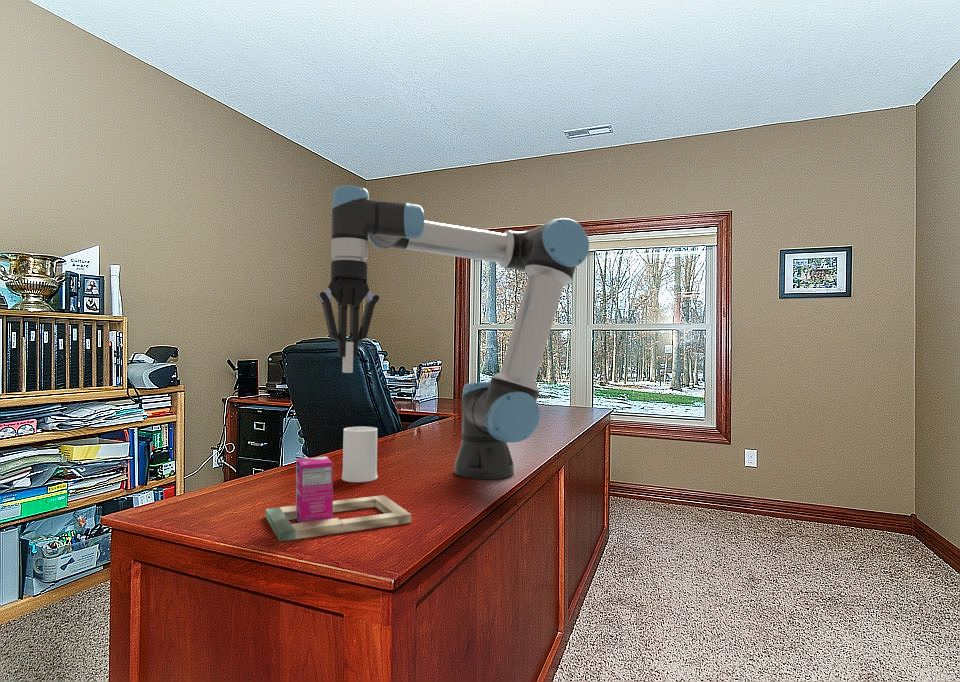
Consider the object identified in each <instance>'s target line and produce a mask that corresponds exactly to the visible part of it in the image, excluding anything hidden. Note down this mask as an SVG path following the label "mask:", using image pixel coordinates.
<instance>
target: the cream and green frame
mask: <svg viewBox="0 0 960 682" xmlns="http://www.w3.org/2000/svg"><path fill="white" fill-rule="evenodd" d="M372 508H376V509H378V510H379V511H380V512H382V513H379V514H372V515H365V516H358V517H357V516H356V517H350V518H342V519H339V517H333V519H325V520H317V521H310V522H302V523H298V522H297V523H295V522H294V523H291V522H290V521H292V520H296V504H294V505H288V506H287V505H286V506H280V507H279V506H278V507H270V508H265V519H266V521H267V522H268V524H269V525H270V528H271V529H272V531H273V532H274V535H275V536H276V538H277V540H278V541H279V542H288V541H293V540H300V539H307V538H314V537H321V536H326V535H336V534H342V533H343V534H344V533H348V532H356V531H361V530H362V531H363V530H370V529H377V528H384V527H391V526H397V525H403V524H404V525H405V524H410V523H412V513H410V512H408V511H407V510H406V509H404V508H403V507H402V506H400V505H399V504H398V503H396V502H395V501H393V500H391V499H390V498H388V497H387V496H386V495H384V494H382V495H375V496H374V495H372V496H364V497H357V498H355V497H354V498H348V499H347V498H346V499H340V500H338V499H337V500H333V513H340V512H346V511H355V510H362V509H364V510H365V509H372Z"/></svg>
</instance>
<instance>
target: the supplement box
mask: <svg viewBox="0 0 960 682" xmlns="http://www.w3.org/2000/svg"><path fill="white" fill-rule="evenodd" d="M295 462H296V463H295V465H296V466H295V505H296V519H295V520H296V522H297V523H302V522H310V521H317V520H325V519H333V518H334V512H333V501H334V497H333V496H334V490H333V489H334V488H333V487H334V486H333V485H334V480H333V478H334V477H333V475H334V473H333V470H334V469H333V466H334V465H333V461H332V460H331V459H330V458H329V457H328V456H317V457H305V458H296V460H295Z"/></svg>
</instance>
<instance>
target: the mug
mask: <svg viewBox="0 0 960 682" xmlns="http://www.w3.org/2000/svg"><path fill="white" fill-rule="evenodd" d="M342 437H343V438H342V439H343V440H342V441H343V443H342V451H343V452H342V475H341V480H342V481H344V482H348V483H367V482H372V481H376V480H377V479H378V478H379V476H378V469H377V468H378V464H377V463H378V427H375V426H374V427H373V426H351V427H350V426H349V427H345V428H343V436H342Z"/></svg>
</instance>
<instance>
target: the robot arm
mask: <svg viewBox="0 0 960 682" xmlns="http://www.w3.org/2000/svg"><path fill="white" fill-rule="evenodd" d="M369 194H370V193H369V191H368V190H367V188H365V187H362V186H361V187H360V186H358V185H349V184H348V185H340V186H337V187H336V188H335V189H334V190H333V192H332V205H331V249H330V250H331V251H330V253H331V255H330V256H331V257H330V258H331V259H332V262H331V263H330V283H329V284H328V286H327V289H325V290H323V291H320V292H318V293H317V298H318V300H319V301H320V303H321V305H322V310H323V313H324V318H325V322H326V327H327V331H328V336H329V337H330V338H331V339H334V340H336V341H337V355H338V357H341V358H342V367H341V368H342V370H341V371H342V372H341V373H344V374H354V373H353V372H354V357H355V358H357V357H358V355H359V354H358V350H359V349H358V347H359V342H360V341H361V340H364V339H367V337H368V333H369V330H370V329H369V328H370V325H371V321H372V318H373V313H374V309H375V305H376V304H377V302H378V301H379V300H380V296H379V295H377V294H374V293H373V292H372V291H370V287H369V284H368V264H367V262H366V261H368V259H369V258H368V257H369V255H368V254H369V252H368V251H369V250H368V249H369V247H368V243H369V242H370V244H371V245H372V246H374V247H375V248H377V249H381V250H382V249H383V250H384V249H385V250H386V249H390V248H392V249H400V250H402V249H403V250H410V251H414V252H415V251H416V252H421V253H422V252H423V253H430V254H436V255H443V256H451V257H456V258H457V257H458V258H464V259H470V260H478V261H484V262H490V263H498V264H499V266H500V267H501V268H506V269H512V270H516V271H520V272H521V271H523V272H526V273H527V275H528V278H527V282H526V285H525V289H524V292H523V295H522V298H521V301H520V306H519V309H518V312H517V315H516V319H515V322H514V325H513V329H512V331H511V335H510V339H509V341H508V344H507V349H506V352H505V355H504V357H503V358H504V359H503V362H502V365H501V368H500V371H499V372H498V373H495V374H494V375H492V376H491V379H490V381H481V382H479V381H478V382H469V383H465V384H464V385H463V388H462V394H461V399H462V401H461V404H462V405H461V444H460V447H459V450H458V453H457V456H456V459H455V462H454V474H455V475H456V476H459V477H461V478H468V479H474V480H499V478H500V479H505V477H506V478H509V477H512V476H514V474H515V473H514V472H515V470H514V469H515V465H514V462H513V458H512V455H511V451H510V447H509V445H508V443H512V444H513V443H520V442H523V441H525V440H526V439H528V438H529V437H531V436H532V434H534V432H535V431H536V430H537V428H538V426H539V422H540V418H541V411H540V408H539V405H538V403H537V401H538V398H539V397H538V396H539V394H540V389H539V387H538V385H537V383H536V382H537V378H538V374H539V370H540V367H541V363H542V359H543V357H544V354H545V351H546V347H547V343H548V340H549V336H550V333H551V330H552V326H553V323H554V320H555V315H556V312H557V310H558V305H559V302H560V299H561V295H562V293H563V289H564V287H565V286H567V285H569V284H570V283H572V281H573V277H574V275H575V270H576V268H577V266H580V265H581V264H583V263H584V261H585V260H586V259H587V256H588V255H589V251H590V241H589V236H588V235H587V234H586V231H585V229H584V227H583V226H582V225H581V224H580V223H578V222H577V221H576V220H573V219H572V218H571V219H570V218H567V217H566V218H565V217H563V218H562V217H561V218H557V219H555V218H554V219H552V220H549V221H548V222H547V223H545V224H542V225H540V226H537V227H535V228H532V229H528V230H527V229H526V230H522V231H516V230H505V231H504V232H503V233H502V232H496V231H490V230H486V229H485V230H483V229H479V228H472V227H465V226H460V225H454V224H448V223H441V222H435V221H429V220H425V212H424V209H423V206H421V205H419V204H416V203H415V204H414V203H409V202H399V201H398V202H397V201H386V200H376V199H374V198H373V199H372V198H370V195H369ZM331 296H332V297H333V299H334V301H335V302H336V303H337V324H336V321H335V314H334V311H333V306H332V302H331V298H332V297H331ZM364 299H365V301H366V303H365V306H364V307H365V308H364V311H363V315H362V319H361V323H359V320H360V308H361V306H360V305H361V303H362V302H363V300H364ZM348 306H349V307H348ZM348 308H349V341H347V337H348V336H347V333H348V332H347V330H348V327H347V325H348V322H347V321H348ZM511 475H512V476H511Z"/></svg>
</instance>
